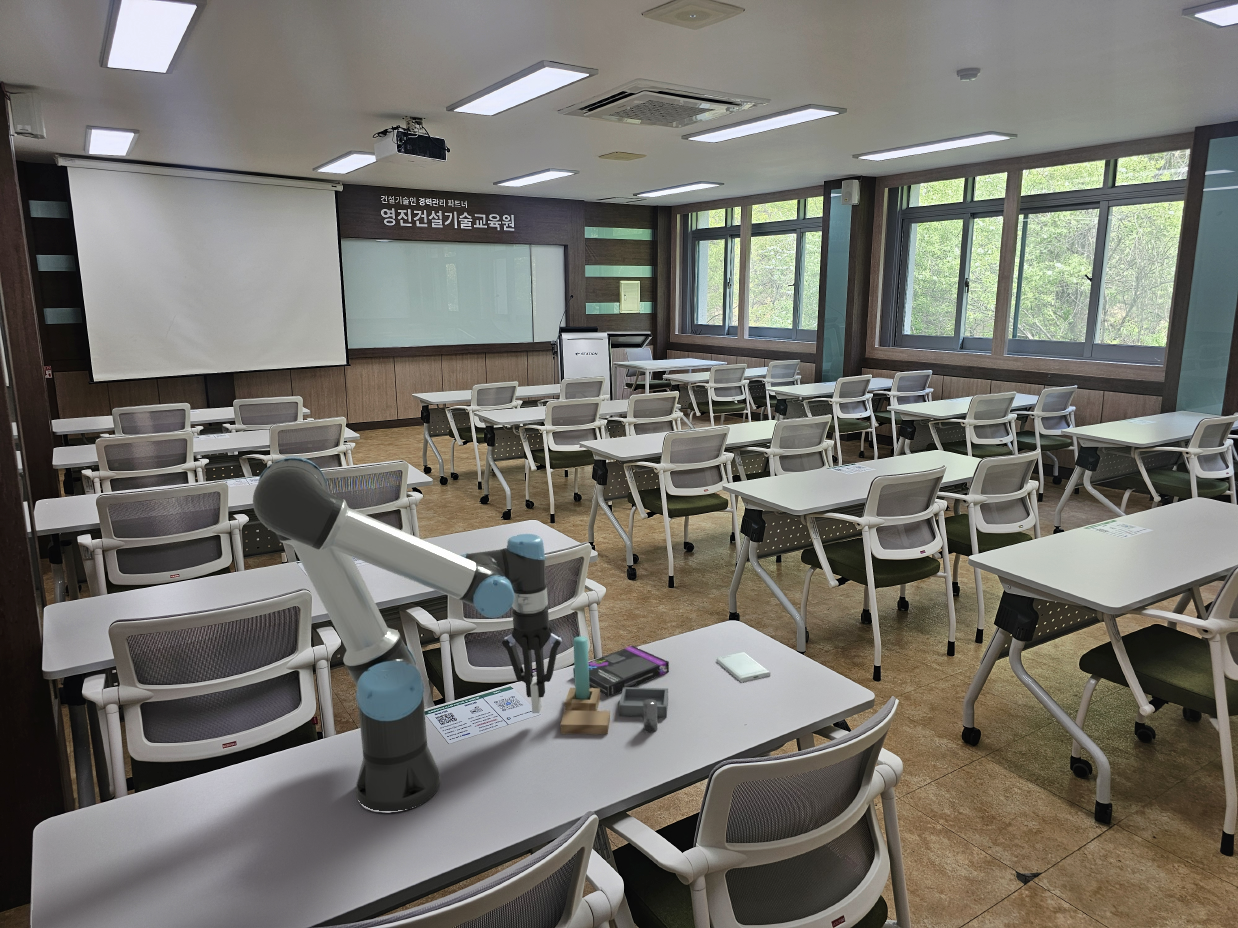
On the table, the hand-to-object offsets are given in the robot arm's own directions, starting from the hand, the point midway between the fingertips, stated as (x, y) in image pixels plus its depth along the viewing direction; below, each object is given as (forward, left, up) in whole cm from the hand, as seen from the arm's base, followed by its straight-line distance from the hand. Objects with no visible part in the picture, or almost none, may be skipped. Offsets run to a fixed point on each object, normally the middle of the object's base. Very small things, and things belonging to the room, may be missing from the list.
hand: (537, 709), depth 170 cm
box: (+16, +25, -4) cm, 30 cm away
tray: (+23, +9, -3) cm, 25 cm away
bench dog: (+25, 0, -3) cm, 25 cm away
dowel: (+9, +9, -3) cm, 13 cm away
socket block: (+9, +9, -3) cm, 13 cm away
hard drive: (+46, +30, -4) cm, 55 cm away
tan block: (+11, 0, -4) cm, 11 cm away
